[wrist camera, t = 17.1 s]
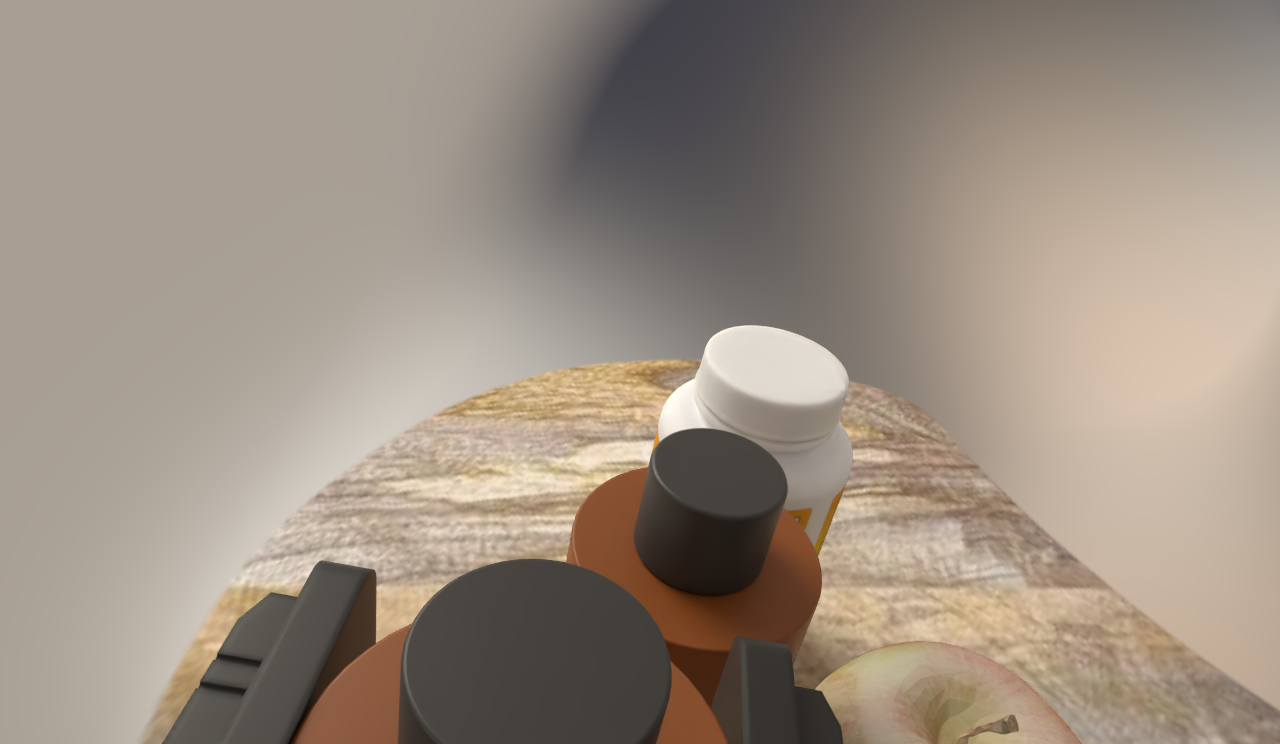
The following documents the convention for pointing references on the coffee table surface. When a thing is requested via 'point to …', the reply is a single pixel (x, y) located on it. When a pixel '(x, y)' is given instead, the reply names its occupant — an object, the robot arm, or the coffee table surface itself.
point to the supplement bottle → (775, 412)
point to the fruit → (938, 699)
